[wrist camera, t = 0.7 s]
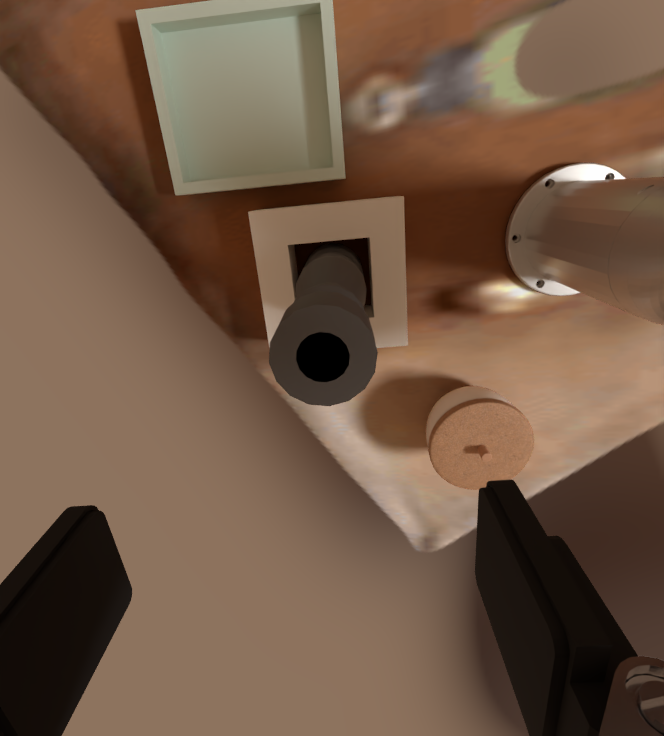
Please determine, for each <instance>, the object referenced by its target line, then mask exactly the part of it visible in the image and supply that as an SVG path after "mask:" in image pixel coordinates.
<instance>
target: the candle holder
mask: <svg viewBox="0 0 664 736" xmlns="http://www.w3.org/2000/svg"><path fill="white" fill-rule="evenodd" d="M366 292H367V288H366V284H365V281H364V274H363V270H362V266H361V263H360V259H359V258H358V256H357V255H356V254H355V253H354V251H353V250H352V249H350V248H348V247H346V246H344V245H342V244H335V243H329V244H326V245H323V246H320V247H318V248H317V249H316V250H315V251H314V252H313V253H311V254H310V256H309V258H308V260H307V262H306V264H305V266H304V268H303V270H302V272H301V274H300V276H299V278H298V280H297V282H296V299H295V301H294V303H293V304H292V305H290V306H289V307H288V308H287V309H286V311H285V313H284V315H283V317H282V319H281V321H280V323H279V325H278V327H277V329H276V331H275V333H274V335H273V337H272V339H271V342H270V352H269V364H270V366H271V369H272V371H273V374H274V376H275V379H276V381H277V382H278V383H279V384H280V385H281V386H282V387H283V389H284V390H285V391H286V392H287V393H288V394H289V395H290V396H292V397H294V398H296V399H299V400H301V401H303V402H305V403H307V404H311V405H322V406H331V405H335V404H339V403H342V402H346V401H349V400H350V399H352V398H353V397H354V396H356V395H357V394H359V393H360V392H361V391H363V390H364V389H365V388H366V386H367V384H368V383H369V381H370V379H371V378H372V376H373V375H374V373H375V368H376V360H377V353H378V352H377V348H376V343H375V338H374V334H373V330H372V327H371V323H370V320H369V317H368V315H367V314H366V313H365V311H364V308H363V306H364V304H365V300H366Z"/></svg>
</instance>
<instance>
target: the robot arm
mask: <svg viewBox="0 0 664 736" xmlns="http://www.w3.org/2000/svg"><path fill="white" fill-rule="evenodd" d="M606 176H607V179H606V180H605V177H606ZM546 181H547V182H548V185H547V186H546V187H545V183H546ZM514 235H515V236H516V238H515V239H514V240H512V237H513V236H514ZM505 246H506V255H507V258H508V261H509V264H510V266H511V268H512V270H513V272H514V274H515V275H516V276H517V277H518V278H519V279H520V280H521V282H523V283H524V284H526V285H527V286H528V287H530V288H532V289H533V290H535V291H537V292H540V293H544V294H547V295H553V296H568V295H574V294H578V293H583V294H586V295H588V296H590V297H593V298H595V299H597V300H600V301H602V302H604V303H607V304H609V305H612V306H614V307H616V308H619V309H621V310H623V311H626V312H628V313H630V314H633V315H635V316H638V317H641V318H643V319H646V320H648V321H651V322H654V323H657V324H661V325H664V177H652V178H631V179H626V178H625V177H624V176H623V175H622V174H620V173H619V172H618V171H617V170H614V169H612V168H610V167H608V166H606V165H601V164H597V163H577V164H570V165H567V166H563V167H560V168H557V169H555V170H553V171H551V172H549V173H547V174H545V175H544V176H543V177H541V178H540V179H538V180H537V181H536V182H534V183H533V184H532V185H531V186H530V187H529V188H528V189H527V190H526V191H525V192H524V194H523V195H522V197H521V198H520V199H519V201H518V202H517V204H516V205H515V207H514V209H513V212H512V214H511V216H510V219H509V222H508V225H507V229H506V238H505ZM538 280H539V283H538V284H536V283H537V281H538ZM475 563H476V564H475V575H476V580H477V585H478V588H479V591H480V594H481V597H482V600H483V603H484V606H485V608H486V611H487V614H488V617H489V620H490V623H491V626H492V629H493V632H494V634H495V637H496V640H497V643H498V646H499V649H500V652H501V655H502V657H503V660H504V663H505V666H506V669H507V672H508V675H509V677H510V681H511V683H512V686H513V689H514V692H515V695H516V698H517V700H518V704H519V706H520V709H521V712H522V715H523V718H524V721H525V723H526V727H527V729H528V733H529V735H530V736H664V661H663V660H661V659H658V658H653V657H646V656H638V655H637V654H636V652H635V651H634V649H633V647H632V646H631V644H630V643H629V641H628V640H627V638H626V636H625V635H624V633H623V632H622V630H621V629H620V627H619V626H618V624H617V622H616V621H615V619H614V618H613V616H612V615H611V613H610V611H609V610H608V608H607V607H606V606H605V604H604V602H603V601H602V599H601V597H600V596H599V594H598V593H597V591H596V590H595V588H594V586H593V585H592V583H591V582H590V580H589V579H588V577H587V576H586V574H585V573H584V571H583V570H582V568H581V566H580V565H579V563H578V562H577V560H576V558H575V557H574V555H573V554H572V552H571V551H570V549H569V548H568V546H567V545H566V543H565V542H564V541H563V540H562V538H560V537H559V536H547V535H546V533H545V531H544V530H543V528H542V526H541V525H540V523H539V522H538V520H537V518H536V516H535V515H534V513H533V511H532V510H531V508H530V506H529V505H528V503H527V501H526V500H525V498H524V496H523V495H522V493H521V491H520V490H519V488H518V486H517V485H516V483H515V482H514V481H513V480H496V481H488V482H487V484H486V487H484V488H480V489H479V500H478V521H477V542H476V562H475ZM131 597H132V587H131V584H130V581H129V579H128V576H127V573H126V571H125V568H124V565H123V563H122V560H121V558H120V555H119V552H118V549H117V547H116V544H115V541H114V538H113V536H112V533H111V531H110V528H109V525H108V522H107V520H106V517H105V515H104V513H103V512H102V511H99V510H98V509H97V507H95V506H92V505H90V506H74V507H69V508H67V509H66V510H65V511H64V512H63V513H62V514H61V515H60V516H59V518H58V519H57V520H56V521H55V522H54V523H53V525H52V526H51V527H50V528H49V529H48V530H47V531H46V533H45V534H44V535H43V536H42V537H41V538H40V540H39V541H38V542H37V543H36V544H35V545H34V546H33V547H32V549H31V550H30V551H29V552H28V553H27V554H26V556H25V557H24V558H23V559H22V560H21V561H20V562H19V564H18V565H17V566H16V567H15V568H14V569H13V571H12V572H11V573H10V574H9V575H8V576H7V577H6V579H5V580H4V581H3V582H2V583H1V585H0V736H61V735H62V734H63V732H64V730H65V728H66V726H67V724H68V722H69V720H70V718H71V716H72V714H73V712H74V710H75V708H76V707H77V705H78V703H79V701H80V699H81V697H82V695H83V693H84V691H85V689H86V687H87V685H88V683H89V681H90V679H91V677H92V676H93V673H94V672H95V670H96V668H97V666H98V664H99V662H100V660H101V658H102V656H103V654H104V652H105V650H106V648H107V646H108V644H109V642H110V640H111V639H112V637H113V635H114V633H115V631H116V629H117V627H118V625H119V623H120V621H121V619H122V617H123V615H124V613H125V611H126V609H127V608H128V605H129V604H130V601H131Z"/></svg>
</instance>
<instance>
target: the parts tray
mask: <svg viewBox="0 0 664 736" xmlns="http://www.w3.org/2000/svg"><path fill="white" fill-rule="evenodd" d="M135 11H136V15H137V20H138V24H139V29H140V34H141V38H142V43H143V48H144V52H145V57H146V62H147V66H148V71H149V75H150V80H151V85H152V89H153V94H154V99H155V103H156V108H157V113H158V117H159V122H160V126H161V131H162V136H163V140H164V145H165V150H166V154H167V159H168V164H169V168H170V173H171V177H172V182H173V187H174V191H175V195H193V194H203V193H213V192H223V191H233V190H243V189H252V188H262V187H272V186H282V185H292V184H301V183H311V182H321V181H331V180H341V179H346V177H345V163H344V150H343V136H342V122H341V109H340V95H339V82H338V68H337V54H336V41H335V27H334V14H333V0H211V1H203V2H195V3H188V4H180V5H172V6H164V7H157V8H149V9H141V10H135Z"/></svg>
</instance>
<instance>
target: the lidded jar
mask: <svg viewBox="0 0 664 736" xmlns="http://www.w3.org/2000/svg"><path fill="white" fill-rule="evenodd" d="M426 440H427V445H428V450H429V455H430V459H431V462H432V465H433V467H434V469H435V470H436V472H437V473H438V474H439V475H440V476H441V477H442V478H443V479H444V480H446V481H447V482H449V483H451V484H453V485H455V486H458V487H461V488H465V489H475V490H477V489H480V488H484V487H486V484H487V482H488V481H496V480H510V479H512V478H513V477H515V476H516V475H517V474H518V473H519V472H520V471H521V470H522V469H523V468H524V467H525V465H526V464H527V462H528V461H529V459H530V457H531V454H532V451H533V447H534V434H533V430H532V427H531V425H530V423H529V421H528V420H527V419H526V417H525V416H524V415H523V414H522V413H521V412H520V411H519V410H518V409H517V408H516V407H515V406H514V405H513V404H512V403H511V402H510V401H509V400H507V399H506V398H505V397H504V396H502V395H500V394H499V393H497V392H495V391H493V390H490V389H488V388H483V387H478V386H466V387H461V388H457V389H455V390H452V391H450V392H448V393H447V394H445V395H444V396H442V397H441V398H440V399H439V400H438V401H437V402H436V403H435V405H434V406H433V408H432V410H431V411H430V413H429V416H428V419H427V425H426Z"/></svg>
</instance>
